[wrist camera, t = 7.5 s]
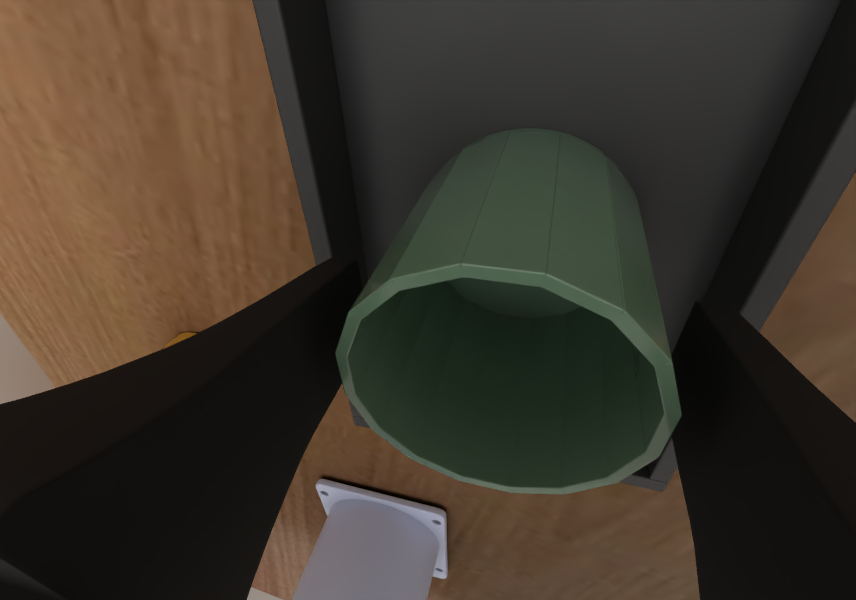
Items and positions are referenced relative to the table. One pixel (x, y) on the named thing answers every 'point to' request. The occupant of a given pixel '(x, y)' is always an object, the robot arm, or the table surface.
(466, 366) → the green cup
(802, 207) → the tray
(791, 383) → the robot arm
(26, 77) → the table surface
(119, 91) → the table surface
